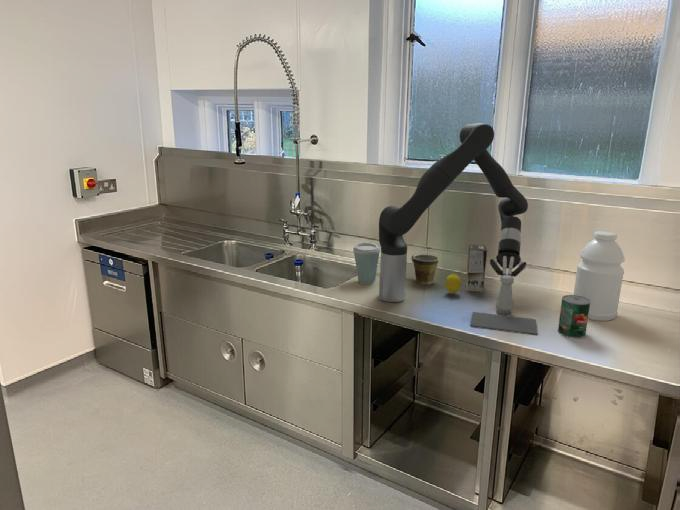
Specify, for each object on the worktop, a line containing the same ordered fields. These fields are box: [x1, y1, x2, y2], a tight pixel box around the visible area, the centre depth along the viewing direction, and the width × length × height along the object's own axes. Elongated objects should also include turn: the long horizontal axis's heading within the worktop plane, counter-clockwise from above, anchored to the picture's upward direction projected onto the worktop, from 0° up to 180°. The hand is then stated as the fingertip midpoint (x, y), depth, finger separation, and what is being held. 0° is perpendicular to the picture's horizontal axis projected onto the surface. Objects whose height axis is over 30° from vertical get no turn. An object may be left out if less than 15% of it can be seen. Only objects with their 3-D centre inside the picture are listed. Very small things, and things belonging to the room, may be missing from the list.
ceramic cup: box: [411, 253, 440, 286], centre depth 207 cm, size 13×10×10 cm
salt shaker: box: [495, 274, 515, 316], centre depth 174 cm, size 6×6×13 cm
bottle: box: [573, 230, 626, 322], centre depth 172 cm, size 14×14×28 cm
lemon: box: [445, 273, 462, 295], centre depth 192 cm, size 6×6×8 cm
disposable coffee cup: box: [352, 241, 381, 285], centre depth 204 cm, size 11×11×15 cm
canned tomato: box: [557, 294, 590, 339], centre depth 159 cm, size 8×8×11 cm
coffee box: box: [465, 244, 488, 293], centre depth 199 cm, size 9×6×16 cm
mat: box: [469, 311, 538, 336], centre depth 167 cm, size 12×20×1 cm, turn 72°
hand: (506, 285), depth 181 cm, fingers closed
